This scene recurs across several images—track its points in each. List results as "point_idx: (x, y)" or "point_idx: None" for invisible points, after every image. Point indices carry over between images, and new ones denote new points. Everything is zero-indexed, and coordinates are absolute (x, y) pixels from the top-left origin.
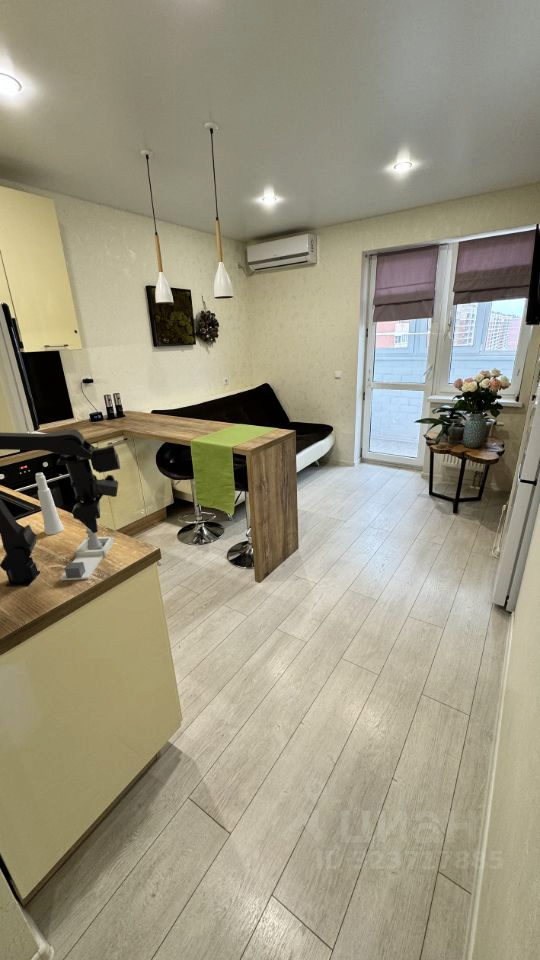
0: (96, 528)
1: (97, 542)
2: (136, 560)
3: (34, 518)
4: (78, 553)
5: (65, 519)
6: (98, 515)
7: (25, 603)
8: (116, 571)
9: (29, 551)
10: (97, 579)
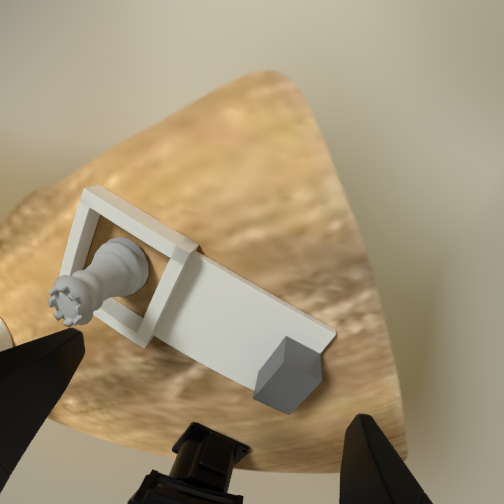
0: (389, 446)
1: (116, 266)
2: (316, 128)
3: None
4: (150, 335)
5: None
6: (67, 351)
7: (329, 455)
8: (352, 229)
9: None
10: (358, 304)
